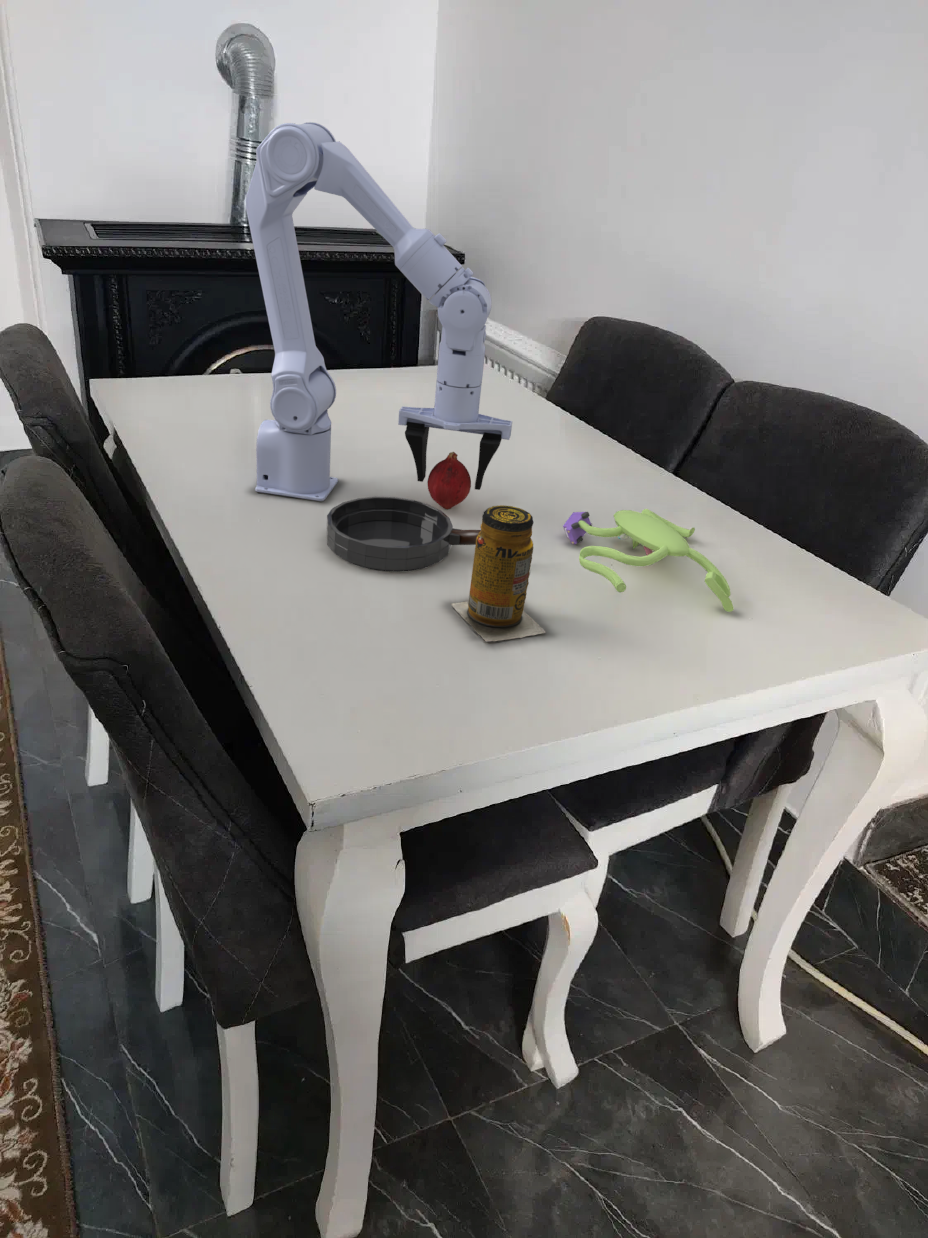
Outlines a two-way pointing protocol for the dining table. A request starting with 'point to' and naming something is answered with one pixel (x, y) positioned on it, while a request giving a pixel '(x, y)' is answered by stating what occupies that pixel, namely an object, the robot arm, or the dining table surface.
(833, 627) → the dining table surface
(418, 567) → the pan
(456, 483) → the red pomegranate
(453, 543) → the pan handle
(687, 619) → the dining table surface
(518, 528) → the condiment
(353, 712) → the dining table surface
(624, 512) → the figurine
